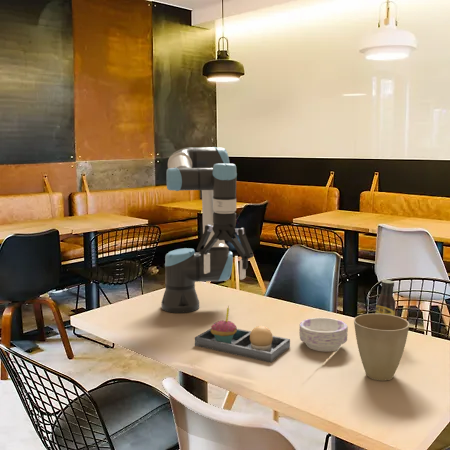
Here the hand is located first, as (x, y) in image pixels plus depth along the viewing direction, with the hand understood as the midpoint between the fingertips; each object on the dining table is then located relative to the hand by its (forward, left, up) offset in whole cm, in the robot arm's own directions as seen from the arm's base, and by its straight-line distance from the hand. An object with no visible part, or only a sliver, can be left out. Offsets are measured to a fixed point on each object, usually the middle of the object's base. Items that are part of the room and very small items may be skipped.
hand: (224, 275), depth 177 cm
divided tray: (+9, -4, -22) cm, 24 cm away
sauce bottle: (+46, +28, -22) cm, 58 cm away
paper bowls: (+31, +10, -22) cm, 39 cm away
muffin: (+16, -4, -21) cm, 27 cm away
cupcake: (+2, -4, -21) cm, 22 cm away
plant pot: (+52, -2, -22) cm, 56 cm away
